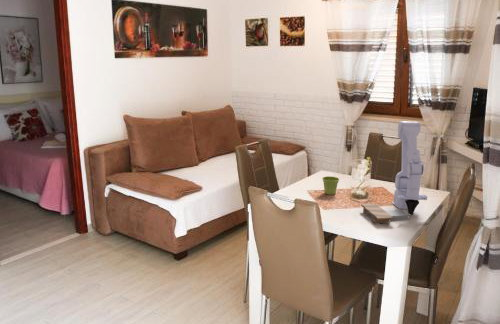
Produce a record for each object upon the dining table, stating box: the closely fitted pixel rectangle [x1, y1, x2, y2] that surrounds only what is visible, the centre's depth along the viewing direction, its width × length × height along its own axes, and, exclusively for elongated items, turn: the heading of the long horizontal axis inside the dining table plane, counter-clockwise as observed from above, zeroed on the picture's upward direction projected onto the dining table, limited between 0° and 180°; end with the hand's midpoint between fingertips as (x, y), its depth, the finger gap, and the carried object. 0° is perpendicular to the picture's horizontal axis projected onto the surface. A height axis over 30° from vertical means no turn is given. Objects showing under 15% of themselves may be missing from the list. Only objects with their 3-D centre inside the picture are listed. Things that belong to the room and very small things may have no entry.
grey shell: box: [383, 209, 410, 221], centre depth 220 cm, size 8×10×2 cm
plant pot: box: [322, 176, 340, 196], centre depth 254 cm, size 9×9×9 cm
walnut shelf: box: [360, 203, 393, 224], centre depth 218 cm, size 20×8×4 cm, turn 9°
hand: (410, 214), depth 221 cm, fingers closed
